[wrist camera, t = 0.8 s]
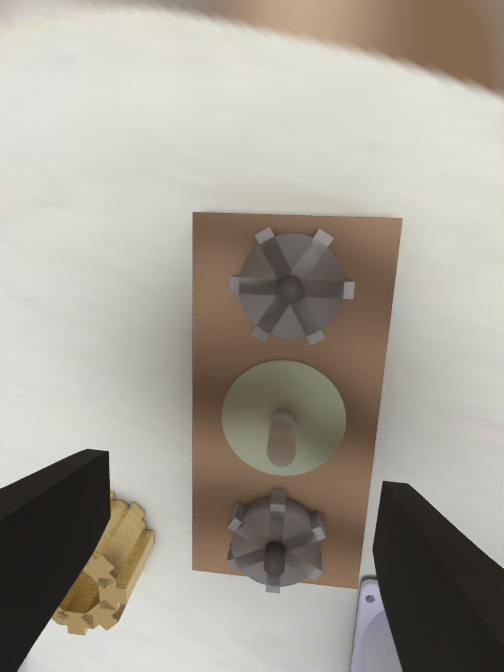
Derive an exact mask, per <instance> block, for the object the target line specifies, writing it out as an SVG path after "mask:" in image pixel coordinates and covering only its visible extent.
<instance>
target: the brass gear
mask: <svg viewBox="0 0 504 672" xmlns="http://www.w3.org/2000/svg"><path fill="white" fill-rule="evenodd" d="M110 505H111V518H110V520H109V522H108V524H107V527H106V529H105V531H104V533H103V535H102V537H101V539H100V541H99V543H98V545H97V547H96V549H95V551H94V553H93V555H92V556H91V558H90V559H89V561H88V562H87V564H86V566H85V567H84V569H83V570H82V572H81V573H80V575H79V576H78V578H77V579H76V581H75V582H74V584H73V586H72V587H71V589H70V590H69V592H68V593H67V595H66V596H65V598H64V599H63V601H62V602H61V604H60V605H59V607H58V608H57V610H56V611H55V613H54V614H53V616H52V617H51V618H52V619H53V620H54V621H55V622H56V623H57V624H60V625H67V626H68V633H71V634H78V635H85V634H86V632H87V630H88V628H90V629H94V628H95V627H97V626H98V625H99V624H100V625H101V626H102V627H103V628H104V629H105V630H108V629H110V628H111V627H112V626H114V625H115V624H116V623H118V621H119V619H120V617H121V615H122V613H123V611H124V608H125V606H126V604H127V602H128V600H129V598H130V596H131V594H132V592H133V589H134V587H135V585H136V583H137V581H138V579H139V576H140V574H141V572H142V570H143V568H144V566H145V563H146V561H147V559H148V557H149V555H150V553H151V550H152V548H153V546H154V544H155V541H154V531H150V530H146V522H145V521H143V520H142V518H143V516H144V514H145V511H143V510H142V509H141V508H140V507H139V506H138V505H137V504H136V503H135V502H134V503H133V504H132V505H130V506H128V505H127V504H126V503H125V502H124V501H121V500H115V495H114V492H110Z"/></svg>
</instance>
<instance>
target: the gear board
mask: <svg viewBox="0 0 504 672" xmlns="http://www.w3.org/2000/svg"><path fill="white" fill-rule="evenodd" d="M402 219H403V218H371V217H338V216H305V215H272V214H238V213H205V212H193V425H192V570H197V571H205V572H214V573H223V574H231V575H240V576H248V577H250V578H251V579H253V580H255V581H256V582H259V583H261V584H265V585H266V592H271V593H279V592H280V586H289V585H293V584H296V583H299V582H301V583H309V584H318V585H327V586H335V587H344V588H353V589H357V588H358V580H359V572H360V563H361V555H362V547H363V539H364V531H365V522H366V514H367V506H368V498H369V490H370V481H371V473H372V465H373V457H374V449H375V440H376V432H377V424H378V416H379V408H380V399H381V391H382V383H383V375H384V367H385V359H386V350H387V342H388V334H389V326H390V318H391V309H392V301H393V293H394V285H395V277H396V268H397V260H398V252H399V244H400V236H401V227H402Z"/></svg>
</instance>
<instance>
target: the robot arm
mask: <svg viewBox="0 0 504 672" xmlns="http://www.w3.org/2000/svg"><path fill="white" fill-rule="evenodd" d="M110 518H111V505H110V474H109V451H102V450H93V449H86V450H83V451H80V452H78V453H75V454H73V455H71V456H69V457H66V458H64V459H62V460H60V461H58V462H56V463H54V464H52V465H50V466H48V467H45V468H43V469H41V470H39V471H37V472H35V473H33V474H31V475H29V476H27V477H25V478H22V479H20V480H18V481H16V482H14V483H12V484H10V485H8V486H6V487H3V488H1V489H0V672H17V671H18V669H19V667H20V666H21V664H22V662H23V661H24V659H25V658H26V656H27V654H28V653H29V651H30V649H31V648H32V646H33V645H34V643H35V642H36V640H37V639H38V637H39V635H40V634H41V632H42V631H43V629H44V628H45V626H46V625H47V623H48V622H49V620H50V619H51V617H52V616H53V614H54V613H55V611H56V610H57V608H58V607H59V605H60V604H61V602H62V601H63V599H64V598H65V596H66V595H67V593H68V592H69V590H70V589H71V587H72V586H73V584H74V582H75V581H76V579H77V578H78V576H79V575H80V573H81V572H82V570H83V569H84V567H85V566H86V564H87V562H88V561H89V559H90V558H91V556H92V555H93V553H94V551H95V549H96V547H97V545H98V543H99V541H100V539H101V537H102V535H103V533H104V531H105V529H106V527H107V524H108V522H109V520H110ZM372 550H373V556H374V562H375V569H376V575H377V580H373V579H367V580H365V581H363V582H362V584H361V588H360V597H359V605H358V613H357V621H356V629H355V637H354V645H353V653H352V661H351V669H350V672H504V569H503V568H502V567H501V566H500V565H498V564H497V563H496V562H495V561H494V560H492V559H491V558H490V557H489V556H488V555H486V554H485V553H484V552H483V551H482V550H481V549H479V548H478V547H477V546H476V545H475V544H474V543H473V542H471V541H470V540H469V539H468V538H467V537H466V536H465V535H464V534H462V533H461V532H460V531H459V530H458V529H457V528H456V527H455V526H454V525H453V524H452V523H450V522H449V521H448V520H447V519H446V518H445V517H444V516H443V515H442V514H441V513H440V512H439V511H438V510H436V509H435V508H434V507H433V506H432V505H431V504H430V503H429V502H428V501H427V500H426V499H425V498H424V497H423V496H421V495H420V494H419V493H418V492H417V491H416V490H415V489H414V488H413V487H411V486H410V485H409V484H407V483H398V482H388V481H383V484H382V490H381V497H380V503H379V510H378V517H377V523H376V530H375V536H374V543H373V549H372ZM368 595H372V596H370V597H368Z"/></svg>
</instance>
